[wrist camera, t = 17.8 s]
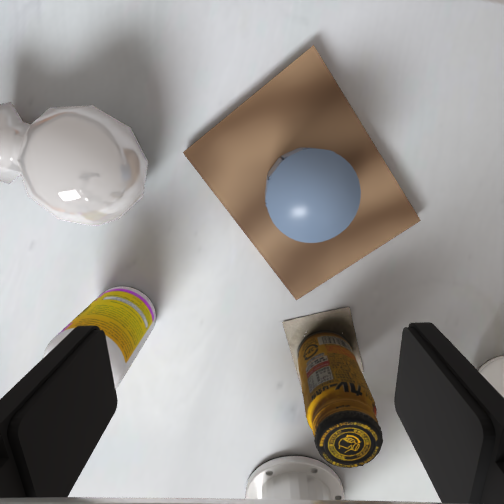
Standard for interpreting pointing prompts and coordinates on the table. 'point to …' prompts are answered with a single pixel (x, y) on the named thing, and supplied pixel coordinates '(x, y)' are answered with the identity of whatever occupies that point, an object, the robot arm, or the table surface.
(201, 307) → the table surface
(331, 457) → the condiment
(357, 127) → the post base
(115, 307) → the supplement bottle
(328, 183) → the cap
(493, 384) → the lidded jar
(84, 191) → the potion bottle
